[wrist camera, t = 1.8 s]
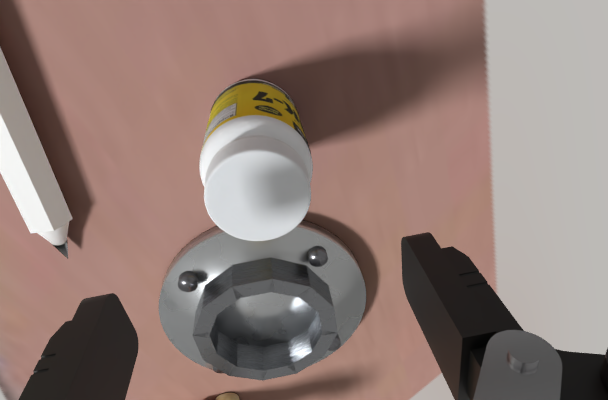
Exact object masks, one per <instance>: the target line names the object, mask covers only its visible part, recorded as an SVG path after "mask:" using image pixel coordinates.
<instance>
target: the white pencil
mask: <svg viewBox="0 0 608 400" xmlns="http://www.w3.org/2000/svg"><path fill="white" fill-rule="evenodd" d="M0 172H1V175H2V177H3V179H4V181H5V183H6V185H7V187H8V189H9V191H10V193H11V195H12V197H13V199H14V201H15V203H16V205H17V207H18V209H19V211H20V213H21V215H22V217H23V219H24V221H25V223H26V225H27V227H28V229H29V231H30V233H38V234H40V235H41V236H42V237H44V238H45V239H46V240H48V241H49V242H50V243H52V245H53V246H55V247H56V248H57V249H58V250H59V251H60V252H61V253H62V254H63V255H64V256H65V257H67V258H68V247H67V234H68V227H69V221H70V220H72V219H73V218H72V216H71V213H70V211H69V209H68V206H67V204H66V202H65V199H64V197H63V194H62V192H61V190H60V187H59V185H58V183H57V180H56V178H55V175H54V173H53V171H52V168H51V166H50V164H49V161H48V159H47V157H46V154H45V152H44V149H43V147H42V145H41V142H40V140H39V138H38V135H37V133H36V130H35V128H34V126H33V123H32V121H31V119H30V116H29V114H28V111H27V109H26V107H25V104H24V102H23V100H22V97H21V95H20V92H19V90H18V88H17V85H16V83H15V81H14V78H13V76H12V74H11V71H10V69H9V66H8V64H7V62H6V59H5V57H4V55H3V52H2V50H1V47H0Z"/></svg>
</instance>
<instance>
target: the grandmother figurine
mask: <svg viewBox="0 0 608 400" xmlns="http://www.w3.org/2000/svg"><path fill="white" fill-rule="evenodd" d="M216 400H240V399H239V396H238V395H236V394H235V393H224V394H221V395H219V396H218V397H217V398H216Z"/></svg>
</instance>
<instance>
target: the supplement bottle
mask: <svg viewBox="0 0 608 400" xmlns="http://www.w3.org/2000/svg"><path fill="white" fill-rule="evenodd" d="M312 171H313V165H312V157H311V152H310V149H309V146H308V142H307V140H306V137H305V134H304V130H303V127H302V125H301V121H300V118H299V115H298V112H297V109H296V107H295V105H294V103H293V101H292V99H291V98H290V97H289V95H288V94H287V93H286V92H285V91H284V90H282V89H281V88H279V87H278V86H276V85H275V84H272V83H270V82H267V81H264V80H259V79H247V80H242V81H239V82H236V83H234V84H232V85H230V86H228V87H227V88H226V89H224V90H223V91H222V92H221V93H220V94H219V96H218V97H217V98H216V100H215V102H214V104H213V106H212V109H211V113H210V117H209V121H208V125H207V129H206V133H205V138H204V142H203V147H202V151H201V156H200V176H201V180H202V183H203V185H204V188H205V189H204V200H205V205H206V209H207V211H208V213H209V215H210V217H211V219H212V220H213V221H214V223H215V224H216V225H217V226H218V227H219V228H220V229H222V230H223V231H225V232H226V233H228V234H230V235H232V236H234V237H236V238H239V239H243V240H249V241H266V240H271V239H275V238H278V237H280V236H283V235H285V234H287V233H288V232H290V231H291V230H293V229H294V228H295V227H296V226H297V225H298V224H299V223H300V222H301V221H302V220H303V218H304V217H305V215H306V213H307V211H308V208H309V205H310V201H311V188H310V182H311V178H312Z"/></svg>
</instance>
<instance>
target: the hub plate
mask: <svg viewBox="0 0 608 400" xmlns="http://www.w3.org/2000/svg"><path fill="white" fill-rule="evenodd" d="M365 304H366V288H365V282H364V279H363V276H362V274H361V271H360V268H359V265H358V263H357V260H356V259H355V257H354V255H353V254H352V252H351V251H350V249H349V248H348V247H347V246H346V245H345V243H343V242H342V241H341V240H340V239H339V238H338V237H337V236H335V235H334V234H332V233H331V232H329V231H328V230H326V229H324V228H322V227H320V226H318V225H316V224H313V223H310V222H307V221H304V220H302V221H301V222H300V223H299V224H298V225H297V226H296V227H295V228H294V229H293V230H291V231H290V232H288V233H287V234H285V235H283V236H280V237H278V238H275V239H271V240H266V241H249V240H243V239H239V238H236V237H234V236H232V235H230V234H228V233H226V232H225V231H223V230H222V229H220V228H219V227H218V226H215V227H213V228H211V229H209V230H207V231H205V232H203V233H202V234H200V235H199V236H197V237H196V238H194V239H193V240H191V241H190V242H189V243H188V244H187V245H186V246H185V247H184V248H183V249H182V250H181V251H180V252H179V253H178V254H177V256H176V257H175V258H174V259H173V261H172V263H171V264H170V266H169V268H168V270H167V272H166V275H165V278H164V281H163V285H162V289H161V294H160V299H159V315H160V320H161V324H162V326H163V329H164V331H165V333H166V335H167V336H168V338H169V340H170V341H171V342H172V343H173V345H174V346H175V347H176V348H177V349H178V350H179V351H180V352H181V353H183V354H184V355H185V356H186V357H188V358H189V359H191V360H192V361H194V362H196V363H198V364H200V365H202V366H204V367H206V368H209V369H211V370H214V371H215V372H217V373H225V374H227V375H229V376H235V377H242V378H249V379H257V380H267V379H272V378H277V377H281V376H286V375H291V374H296V373H298V372H300V371H301V370H303V369H305V368H306V367H308V366H310V365H312V364H315V363H317V362H319V361H320V360H322V359H324V358H326V357H327V356H329V355H330V354H332V353H333V352H335V351H336V350H337V349H338V348H340V347H341V346H342V345H343V344H344V343H345V342H346V341H347V340H348V339H349V338H350V337H351V335H352V334H353V333H354V331H355V330H356V328H357V327H358V325H359V323H360V321H361V319H362V316H363V313H364V310H365Z"/></svg>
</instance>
